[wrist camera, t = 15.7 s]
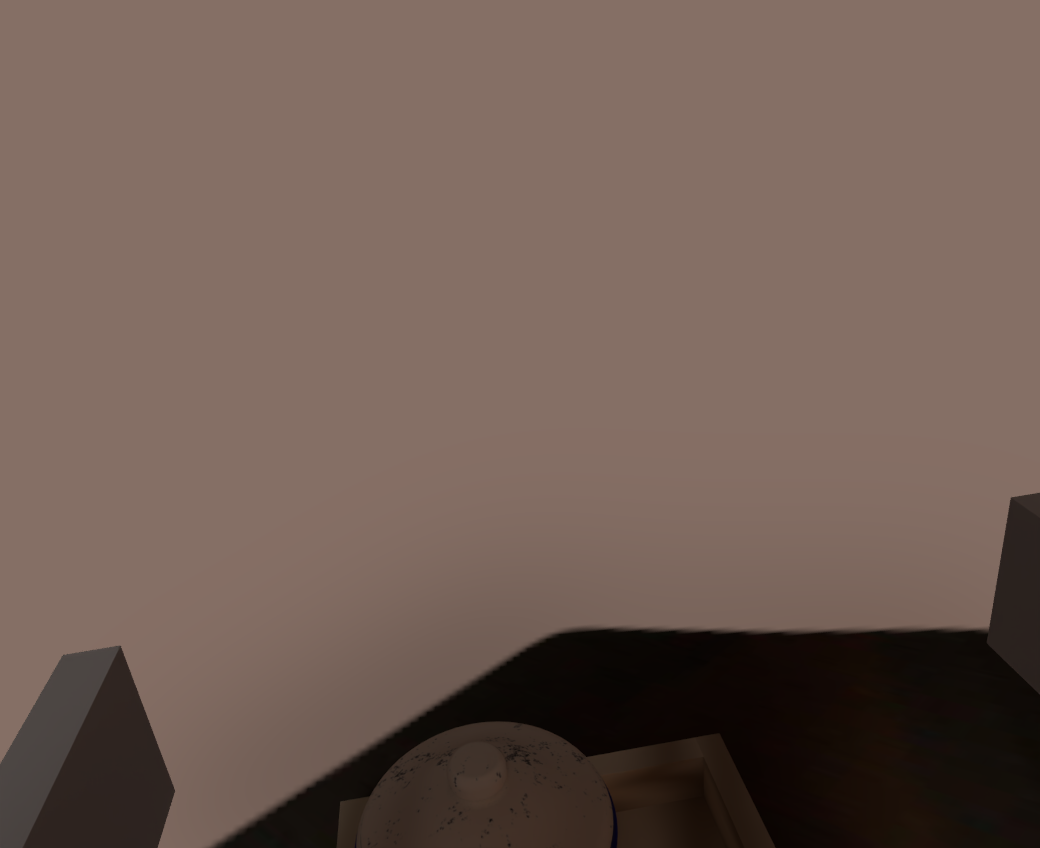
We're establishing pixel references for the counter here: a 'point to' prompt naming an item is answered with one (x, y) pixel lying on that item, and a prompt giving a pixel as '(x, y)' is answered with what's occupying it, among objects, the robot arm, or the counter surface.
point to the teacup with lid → (490, 794)
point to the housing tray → (659, 798)
